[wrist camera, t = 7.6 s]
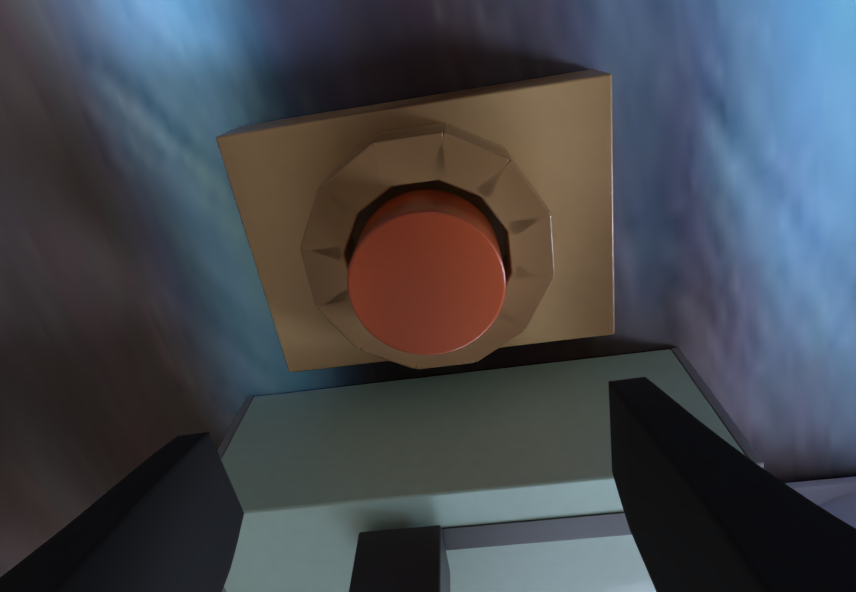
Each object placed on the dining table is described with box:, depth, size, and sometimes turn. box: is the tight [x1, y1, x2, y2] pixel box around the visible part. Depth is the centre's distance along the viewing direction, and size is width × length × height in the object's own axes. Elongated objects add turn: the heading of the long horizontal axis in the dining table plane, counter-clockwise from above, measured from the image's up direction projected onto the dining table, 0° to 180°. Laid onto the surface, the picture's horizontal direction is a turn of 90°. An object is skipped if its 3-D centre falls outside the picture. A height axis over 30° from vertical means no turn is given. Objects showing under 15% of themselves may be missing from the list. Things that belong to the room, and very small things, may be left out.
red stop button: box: [347, 189, 506, 355], centre depth 15 cm, size 4×4×2 cm
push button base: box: [216, 69, 615, 372], centre depth 17 cm, size 11×8×4 cm
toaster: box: [217, 347, 764, 592], centre depth 20 cm, size 17×10×6 cm, turn 99°
